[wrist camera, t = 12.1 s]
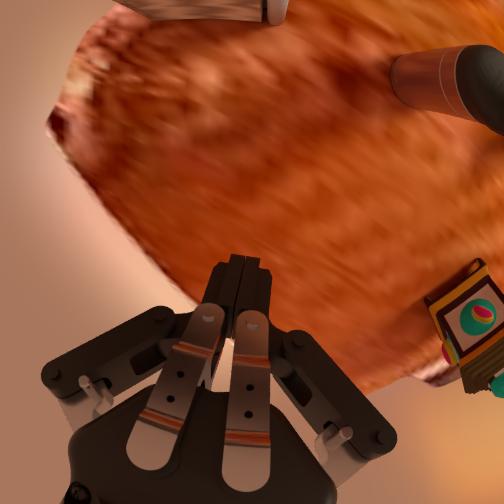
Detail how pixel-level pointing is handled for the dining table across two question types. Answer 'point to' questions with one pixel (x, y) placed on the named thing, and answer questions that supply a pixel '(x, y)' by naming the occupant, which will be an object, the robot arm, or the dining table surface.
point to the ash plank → (197, 9)
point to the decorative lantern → (473, 330)
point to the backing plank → (275, 11)
